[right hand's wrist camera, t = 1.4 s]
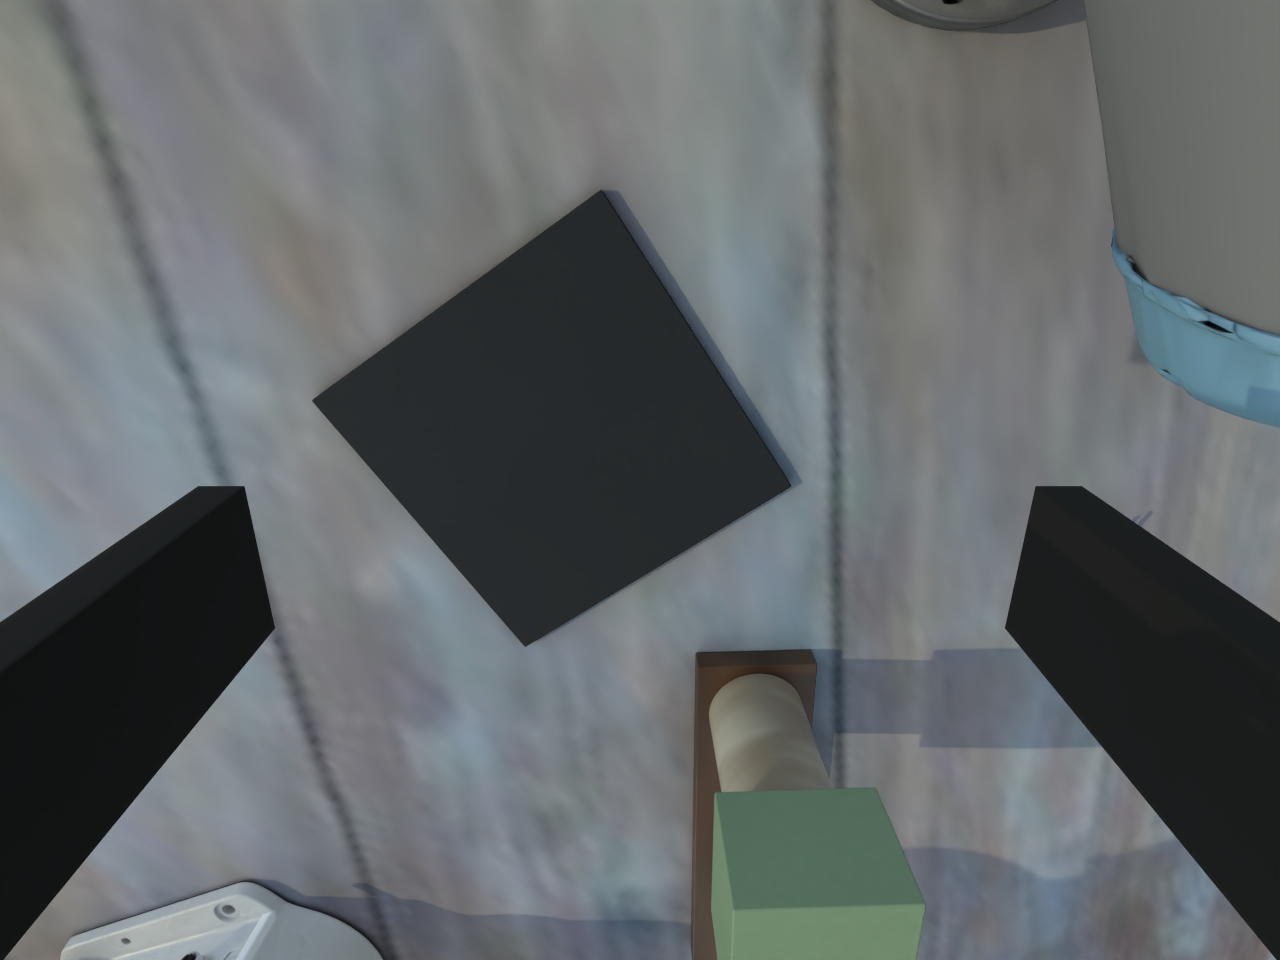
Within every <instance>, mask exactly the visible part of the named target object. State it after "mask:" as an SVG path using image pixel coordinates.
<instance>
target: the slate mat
mask: <svg viewBox="0 0 1280 960" xmlns="http://www.w3.org/2000/svg"><path fill="white" fill-rule="evenodd" d="M312 401H313V403H314V404H315V405H316V406H317V407H318V408H319V409H320V411H321V412H322V413H323V414H324V415H325V416H326V418H327V419H328V420H329V421H330V422H331V423H332V424H333V426H334V427H335V428H336V429H337V430H338V431H339V433H340V434H341V435H342V436H343V437H344V438H345V439H346V441H347V442H348V443H349V444H350V445H351V446H352V448H353V449H354V450H355V451H356V452H357V453H358V454H359V456H360V457H361V458H362V459H363V460H364V461H365V463H366V464H367V465H368V466H369V467H370V468H371V470H372V471H373V472H374V473H375V474H376V475H377V476H378V478H379V479H380V480H381V481H382V482H383V483H384V485H385V486H386V487H387V488H388V489H389V490H390V491H391V493H392V494H393V495H394V496H395V497H396V498H397V500H398V501H399V502H400V503H401V504H402V505H403V506H404V508H405V509H406V510H407V511H408V512H409V513H410V515H411V516H412V517H413V518H414V519H415V520H416V521H417V523H418V524H419V525H420V526H421V527H422V528H423V530H424V531H425V532H426V533H427V534H428V535H429V536H430V538H431V539H432V540H433V541H434V542H435V543H436V545H437V546H438V547H439V548H440V549H441V550H442V551H443V553H444V554H445V555H446V556H447V557H448V558H449V560H450V561H451V562H452V563H453V564H454V565H455V566H456V568H457V569H458V570H459V571H460V572H461V573H462V575H463V576H464V577H465V578H466V579H467V580H468V581H469V583H470V584H471V585H472V586H473V587H474V588H475V590H476V591H477V592H478V593H479V594H480V595H481V596H482V598H483V599H484V600H485V601H486V602H487V603H488V605H489V606H490V607H491V608H492V609H493V610H494V611H495V613H496V614H497V615H498V616H499V617H500V618H501V620H502V621H503V622H504V623H505V624H506V625H507V626H508V628H509V629H510V630H511V631H512V632H513V633H514V635H515V636H516V637H517V638H518V639H519V640H520V641H521V643H522V644H523V645H524V646H525V647H526V646H527V645H529V644H531V643H532V642H534V641H536V640H537V639H539V638H541V637H542V636H544V635H546V634H547V633H549V632H551V631H552V630H554V629H556V628H557V627H559V626H561V625H562V624H564V623H566V622H567V621H569V620H571V619H572V618H574V617H576V616H577V615H579V614H581V613H582V612H584V611H586V610H587V609H589V608H591V607H592V606H594V605H595V604H597V603H599V602H600V601H602V600H604V599H605V598H607V597H609V596H610V595H612V594H614V593H615V592H617V591H619V590H620V589H622V588H624V587H625V586H627V585H629V584H630V583H632V582H634V581H635V580H637V579H639V578H640V577H642V576H644V575H645V574H647V573H649V572H650V571H652V570H654V569H655V568H657V567H659V566H660V565H662V564H663V563H665V562H667V561H668V560H670V559H672V558H673V557H675V556H677V555H678V554H680V553H682V552H683V551H685V550H687V549H688V548H690V547H692V546H693V545H695V544H697V543H698V542H700V541H702V540H703V539H705V538H707V537H708V536H710V535H712V534H713V533H715V532H717V531H718V530H720V529H722V528H723V527H725V526H727V525H728V524H730V523H731V522H733V521H735V520H736V519H738V518H740V517H741V516H743V515H745V514H746V513H748V512H750V511H751V510H753V509H755V508H756V507H758V506H760V505H761V504H763V503H765V502H766V501H768V500H770V499H771V498H773V497H775V496H776V495H778V494H780V493H781V492H783V491H785V490H786V489H788V488H790V487H791V484H790V482H789V481H788V479H787V478H786V476H785V474H784V473H783V471H782V470H781V468H780V467H779V465H778V464H777V462H776V460H775V459H774V457H773V456H772V454H771V453H770V451H769V450H768V448H767V446H766V445H765V443H764V442H763V440H762V439H761V437H760V435H759V434H758V432H757V431H756V429H755V428H754V426H753V425H752V423H751V421H750V420H749V418H748V417H747V415H746V414H745V412H744V411H743V409H742V407H741V406H740V404H739V403H738V401H737V400H736V398H735V396H734V395H733V393H732V392H731V390H730V389H729V387H728V386H727V384H726V382H725V381H724V379H723V378H722V376H721V375H720V373H719V372H718V370H717V368H716V367H715V365H714V364H713V362H712V361H711V359H710V357H709V356H708V354H707V353H706V351H705V350H704V348H703V347H702V345H701V343H700V342H699V340H698V339H697V337H696V336H695V334H694V333H693V331H692V329H691V328H690V326H689V325H688V323H687V322H686V320H685V318H684V317H683V315H682V314H681V312H680V311H679V309H678V308H677V306H676V304H675V303H674V301H673V300H672V298H671V297H670V295H669V294H668V292H667V290H666V289H665V287H664V286H663V284H662V283H661V281H660V279H659V278H658V276H657V275H656V273H655V272H654V270H653V269H652V267H651V265H650V264H649V262H648V261H647V259H646V258H645V256H644V255H643V253H642V251H641V250H640V248H639V247H638V245H637V244H636V242H635V240H634V239H633V237H632V236H631V234H630V233H629V231H628V230H627V228H626V226H625V225H624V223H623V222H622V220H621V219H620V217H619V216H618V214H617V212H616V211H615V209H614V208H613V206H612V205H611V203H610V201H609V200H608V198H607V197H606V195H605V194H604V192H603V191H602V190H600V191H599V192H598V193H596V194H595V195H593V196H592V197H591V198H589V199H588V200H587V201H585V202H584V203H582V204H581V205H580V206H578V207H577V208H576V209H574V210H573V211H571V212H570V213H569V214H567V215H566V216H565V217H563V218H562V219H560V220H559V221H558V222H556V223H555V224H554V225H552V226H551V227H549V228H548V229H547V230H545V231H544V232H543V233H541V234H540V235H538V236H537V237H536V238H534V239H533V240H532V241H530V242H529V243H527V244H526V245H525V246H523V247H522V248H521V249H519V250H518V251H516V252H515V253H514V254H512V255H511V256H510V257H508V258H507V259H505V260H504V261H503V262H501V263H500V264H499V265H497V266H496V267H494V268H493V269H492V270H490V271H489V272H488V273H486V274H485V275H483V276H482V277H481V278H479V279H478V280H477V281H475V282H474V283H472V284H471V285H470V286H468V287H467V288H466V289H464V290H463V291H461V292H460V293H459V294H457V295H456V296H455V297H453V298H452V299H450V300H449V301H448V302H446V303H445V304H444V305H442V306H441V307H439V308H438V309H437V310H435V311H434V312H433V313H431V314H430V315H428V316H427V317H426V318H424V319H423V320H422V321H420V322H419V323H417V324H416V325H415V326H413V327H412V328H411V329H409V330H408V331H406V332H405V333H404V334H402V335H401V336H400V337H398V338H397V339H395V340H394V341H393V342H391V343H390V344H389V345H387V346H386V347H384V348H383V349H382V350H380V351H379V352H378V353H376V354H375V355H373V356H372V357H371V358H369V359H368V360H367V361H365V362H364V363H362V364H361V365H360V366H358V367H357V368H356V369H354V370H353V371H351V372H350V373H349V374H347V375H346V376H345V377H343V378H342V379H340V380H339V381H338V382H336V383H335V384H334V385H332V386H331V387H329V388H328V389H327V390H325V391H324V392H323V393H321V394H320V395H318V396H317V397H316V398H314V399H313V400H312Z"/></svg>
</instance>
